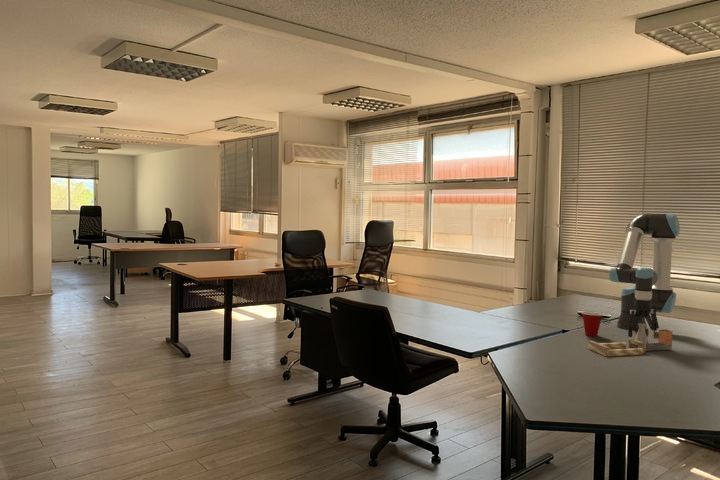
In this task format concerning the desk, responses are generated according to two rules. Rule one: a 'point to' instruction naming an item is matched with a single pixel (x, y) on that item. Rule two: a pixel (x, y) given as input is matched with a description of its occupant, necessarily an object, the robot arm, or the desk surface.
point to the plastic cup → (591, 323)
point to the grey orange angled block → (659, 342)
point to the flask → (641, 334)
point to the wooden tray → (617, 348)
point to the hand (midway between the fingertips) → (641, 343)
